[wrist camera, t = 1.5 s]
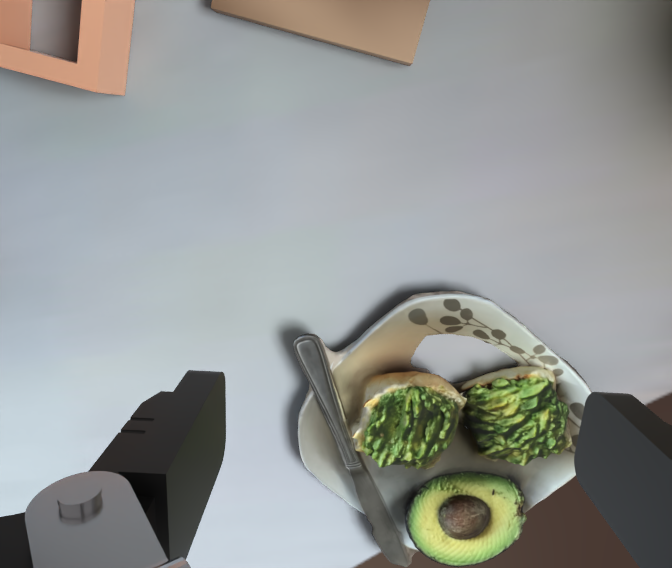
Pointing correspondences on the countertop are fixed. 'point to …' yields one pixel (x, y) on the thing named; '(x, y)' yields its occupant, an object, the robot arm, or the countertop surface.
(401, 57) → the post stand
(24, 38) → the ring
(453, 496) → the avocado toast plate
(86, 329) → the countertop surface
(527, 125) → the countertop surface
